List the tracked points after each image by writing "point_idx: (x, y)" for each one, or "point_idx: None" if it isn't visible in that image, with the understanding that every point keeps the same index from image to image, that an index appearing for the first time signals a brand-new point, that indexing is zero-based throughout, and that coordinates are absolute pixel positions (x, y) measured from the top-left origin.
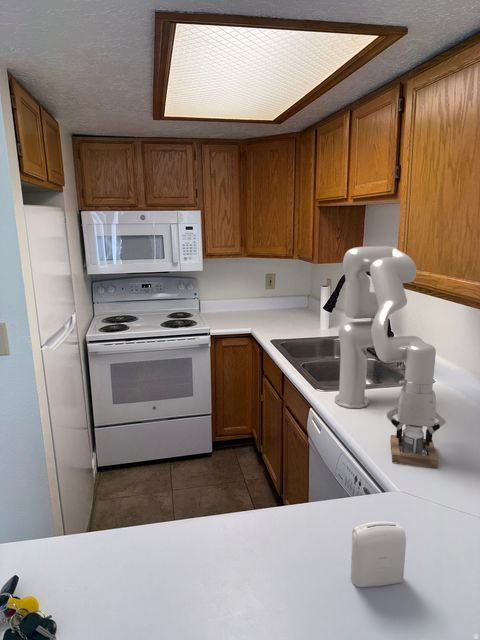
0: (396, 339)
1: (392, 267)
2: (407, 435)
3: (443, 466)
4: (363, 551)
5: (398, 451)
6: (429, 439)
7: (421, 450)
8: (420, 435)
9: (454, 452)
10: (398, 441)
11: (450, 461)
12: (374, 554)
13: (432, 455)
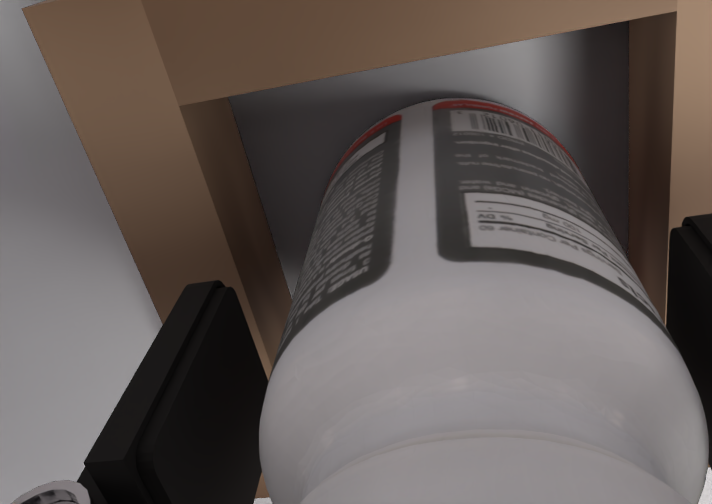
0: None
1: None
2: (622, 313)
3: (45, 83)
4: None
5: (698, 24)
6: (147, 362)
7: (317, 219)
8: (306, 383)
9: (49, 406)
10: None
11: (21, 232)
12: None
13: (142, 138)
